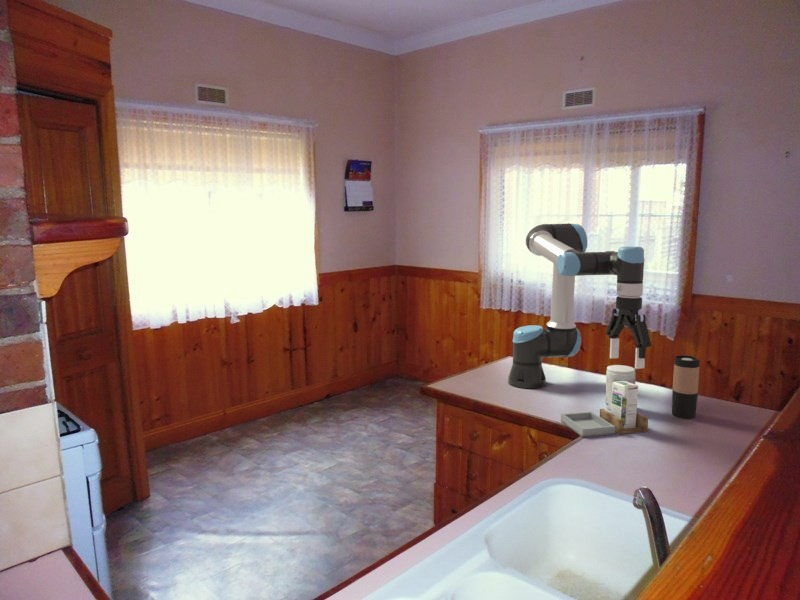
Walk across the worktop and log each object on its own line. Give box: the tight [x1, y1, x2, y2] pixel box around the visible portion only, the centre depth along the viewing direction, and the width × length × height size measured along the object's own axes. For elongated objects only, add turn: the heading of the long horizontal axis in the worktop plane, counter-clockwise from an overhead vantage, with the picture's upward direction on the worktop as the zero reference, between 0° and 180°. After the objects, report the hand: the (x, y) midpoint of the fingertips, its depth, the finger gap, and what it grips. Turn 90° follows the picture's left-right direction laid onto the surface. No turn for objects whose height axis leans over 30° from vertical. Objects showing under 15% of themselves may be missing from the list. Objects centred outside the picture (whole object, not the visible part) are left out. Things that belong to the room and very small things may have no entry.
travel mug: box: [671, 354, 701, 420], centre depth 187 cm, size 8×8×20 cm
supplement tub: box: [605, 364, 636, 411], centre depth 195 cm, size 10×10×15 cm
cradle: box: [599, 408, 649, 435], centre depth 178 cm, size 11×10×4 cm
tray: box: [560, 411, 616, 438], centre depth 178 cm, size 14×11×2 cm
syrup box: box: [610, 381, 639, 429], centre depth 177 cm, size 6×6×14 cm
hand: (626, 363), depth 175 cm, fingers open, 13 cm apart
